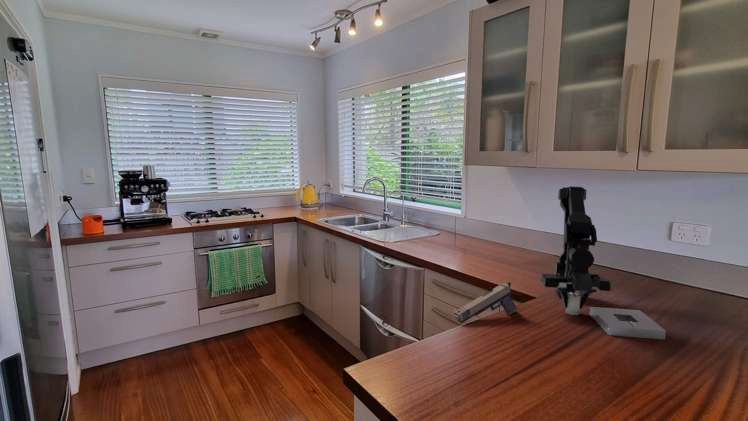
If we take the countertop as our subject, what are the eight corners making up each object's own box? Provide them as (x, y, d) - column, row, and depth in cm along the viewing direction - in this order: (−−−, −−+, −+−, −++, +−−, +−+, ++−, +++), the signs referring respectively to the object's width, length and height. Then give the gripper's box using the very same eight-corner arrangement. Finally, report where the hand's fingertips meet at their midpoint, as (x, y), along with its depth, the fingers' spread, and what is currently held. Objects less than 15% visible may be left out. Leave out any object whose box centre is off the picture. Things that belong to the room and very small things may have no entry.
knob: (564, 309, 121) (565, 291, 120) (576, 310, 120) (578, 291, 120) (567, 314, 117) (569, 295, 116) (581, 315, 117) (582, 296, 116)
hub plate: (589, 314, 118) (590, 306, 118) (638, 317, 116) (639, 309, 115) (608, 335, 104) (609, 325, 104) (665, 339, 102) (666, 330, 102)
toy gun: (461, 338, 115) (452, 311, 113) (514, 306, 121) (506, 279, 119) (466, 342, 113) (457, 314, 110) (519, 308, 119) (512, 281, 116)
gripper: (551, 265, 110) (548, 316, 113) (621, 269, 107) (616, 321, 109) (542, 255, 121) (539, 302, 123) (605, 258, 118) (601, 306, 120)
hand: (572, 308), depth 119 cm, fingers closed on knob, 4 cm apart
